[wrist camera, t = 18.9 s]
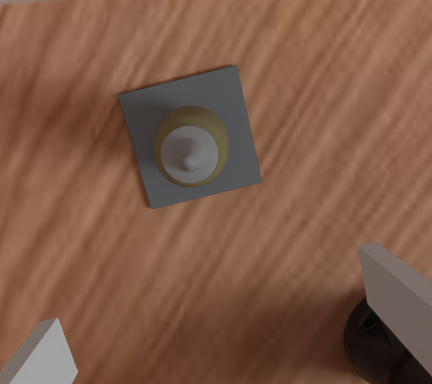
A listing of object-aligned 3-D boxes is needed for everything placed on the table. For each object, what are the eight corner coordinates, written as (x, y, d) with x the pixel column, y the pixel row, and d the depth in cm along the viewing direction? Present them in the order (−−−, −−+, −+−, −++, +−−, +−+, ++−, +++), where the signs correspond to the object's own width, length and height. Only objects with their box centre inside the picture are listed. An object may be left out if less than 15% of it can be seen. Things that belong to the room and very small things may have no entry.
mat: (235, 65, 41) (236, 65, 40) (261, 181, 44) (262, 182, 44) (118, 95, 41) (117, 95, 41) (152, 208, 44) (151, 209, 44)
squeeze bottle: (152, 166, 43) (119, 204, 25) (165, 98, 41) (140, 88, 23) (218, 180, 43) (230, 227, 26) (233, 114, 42) (258, 116, 24)
